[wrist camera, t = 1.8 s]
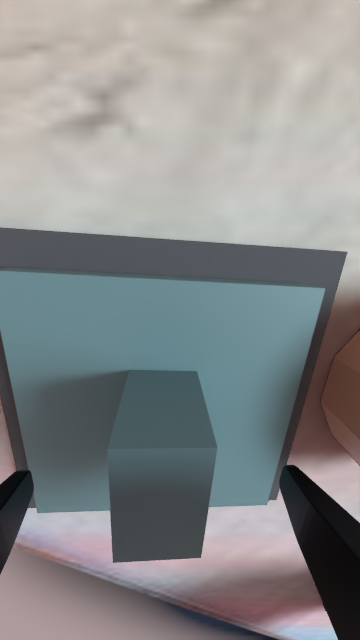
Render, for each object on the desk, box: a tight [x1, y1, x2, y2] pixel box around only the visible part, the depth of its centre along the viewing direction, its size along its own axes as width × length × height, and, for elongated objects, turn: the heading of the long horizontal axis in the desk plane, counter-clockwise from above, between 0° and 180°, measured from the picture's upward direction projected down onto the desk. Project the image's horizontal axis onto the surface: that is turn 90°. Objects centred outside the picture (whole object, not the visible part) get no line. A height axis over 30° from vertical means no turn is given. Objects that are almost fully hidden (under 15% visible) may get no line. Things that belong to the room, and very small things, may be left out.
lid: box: [0, 267, 325, 563], centre depth 9 cm, size 13×13×5 cm
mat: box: [0, 228, 347, 508], centre depth 12 cm, size 16×16×1 cm
